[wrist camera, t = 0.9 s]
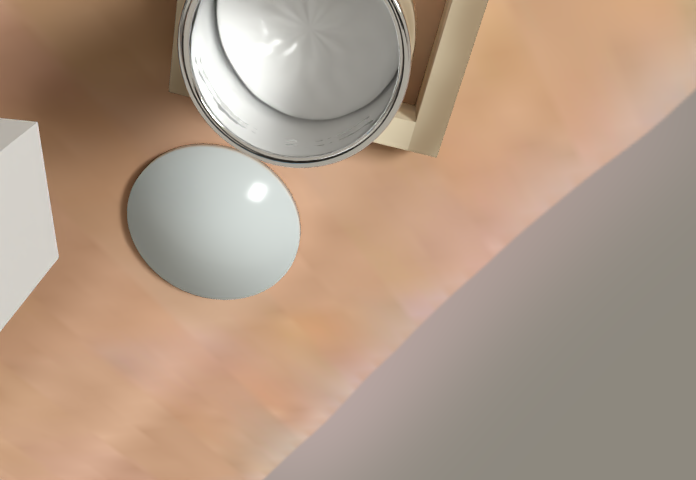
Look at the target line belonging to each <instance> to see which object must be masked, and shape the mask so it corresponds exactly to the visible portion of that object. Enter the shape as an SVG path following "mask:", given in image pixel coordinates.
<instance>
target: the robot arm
mask: <svg viewBox="0 0 696 480" xmlns="http://www.w3.org/2000/svg"><path fill="white" fill-rule="evenodd" d="M58 258H59V255H58V249H57V243H56V236H55V230H54V223H53V217H52V211H51V204H50V198H49V192H48V185H47V179H46V172H45V166H44V160H43V153H42V147H41V140H40V134H39V128H38V122H33V121H24V120H14V119H4V118H0V331H1V330H2V329H3V327H4V326H5V325H6V324H7V322H8V321H9V320H10V318H11V317H12V316H13V315H14V313H15V312H16V311H17V310H18V308H19V307H20V306H21V305H22V303H23V302H24V301H25V300H26V298H27V297H28V296H29V295H30V293H31V292H32V291H33V289H34V288H35V287H36V286H37V284H38V283H39V282H40V281H41V279H42V278H43V277H44V276H45V274H46V273H47V272H48V271H49V269H50V268H51V267H52V265H53V264H54V263H55V262H56V260H57V259H58Z"/></svg>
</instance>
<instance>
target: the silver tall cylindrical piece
mask: <svg viewBox="0 0 696 480" xmlns="http://www.w3.org/2000/svg"><path fill="white" fill-rule="evenodd" d="M416 29H417V17H416V7H415V1H414V0H185V2H184V4H183V7H182V11H181V15H180V19H179V25H178V34H177V51H178V60H179V66H180V71H181V74H182V78H183V81H184V84H185V87H186V89H187V92H188V94H189V96H190V98H191V100H192V102H193V104H194V105H195V107H196V109H197V110H198V112H199V113H200V115H201V116H202V117H203V119H204V120H205V121H206V122H207V124H208V125H209V126H210V127H211V128H212V129H213V130H214V131H215V132H216V133H217V134H218V135H219V136H220V137H221V138H222V139H224V140H225V141H226V142H227V143H229V144H230V145H231V146H233V147H234V148H236V149H238V150H239V151H241V152H243V153H244V154H246V155H248V156H251V157H253V158H255V159H257V160H260V161H263V162H266V163H269V164H273V165H278V166H283V167H291V168H311V167H319V166H325V165H329V164H333V163H336V162H339V161H342V160H344V159H346V158H349V157H351V156H353V155H355V154H356V153H358V152H360V151H361V150H363V149H364V148H366V147H367V146H368V145H370V144H371V143H372V142H373V141H374V140H375V139H377V138H378V137H379V136H380V135H381V134H382V132H383V131H384V130H385V129H386V128H387V127H388V125H389V124H390V123H391V121H392V120H393V118H394V117H395V115H396V113H397V112H398V110H399V108H400V106H401V104H402V101H403V99H404V96H405V93H406V90H407V87H408V83H409V78H410V72H411V65H412V61H413V56H414V52H415V44H416Z"/></svg>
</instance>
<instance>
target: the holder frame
mask: <svg viewBox="0 0 696 480" xmlns="http://www.w3.org/2000/svg"><path fill="white" fill-rule="evenodd" d="M184 2H185V0H177V7H176V18H175V29H174V40H173V50H172V61H171V72H170V82H169V92H171V93H175V94H179V95H183V96H188V97H190V96H189V94H188V92H187V89H186V87H185V84H184V81H183V78H182V74H181V71H180V66H179V60H178V51H177V34H178V25H179V19H180V15H181V11H182V7H183V4H184ZM487 3H488V0H446V3H445V6H444V10H443V13H442V16H441V20H440V23H439V27H438V30H437V33H436V37H435V40H434V43H433V47H432V50H431V54H430V57H429V60H428V64H427V67H426V70H425V74H424V77H423V81H422V84H421V87H420V91H419V94H418V97H417V101H416V104H415V105H411V104H407V103H403V102H402V104H401V106H400V108H399V110H398V112H397V113H396V115H395V117H394V118H393V120H392V121H391V123H390V124H389V125H388V127H387V128H386V129H385V130H384V131H383V132H382V134H381V135H380V136H379V137H378V138H377V139H375V140H374V141H373V142H375V143H379V144H383V145H387V146H391V147H395V148H399V149H403V150H407V151H411V152H415V153H420V154H424V155H428V156H432V157H436V158H437V155H438V152H439V149H440V146H441V143H442V140H443V137H444V134H445V131H446V128H447V125H448V122H449V119H450V116H451V113H452V110H453V106H454V103H455V100H456V97H457V94H458V91H459V88H460V85H461V82H462V79H463V76H464V73H465V70H466V67H467V64H468V61H469V58H470V55H471V52H472V48H473V45H474V42H475V39H476V36H477V33H478V30H479V27H480V24H481V21H482V18H483V15H484V12H485V9H486V6H487Z"/></svg>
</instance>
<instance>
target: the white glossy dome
mask: <svg viewBox="0 0 696 480" xmlns="http://www.w3.org/2000/svg"><path fill="white" fill-rule="evenodd" d="M127 220H128V226H129V230H130V234H131V237H132V240H133V242H134V244H135V246H136V248H137V250H138V251H139V253H140V255H141V256H142V258H143V259H144V260H145V261H146V263H147V264H148V265H149V266H150V267H151V268H152V269H153V270H154V271H155V272H156V273H157V274H158V275H159V276H161V277H162V278H163V279H164V280H166V281H167V282H169V283H170V284H172V285H174V286H175V287H177V288H179V289H181V290H183V291H186V292H188V293H191V294H194V295H197V296H201V297H205V298H210V299H220V300H231V299H240V298H246V297H249V296H253V295H256V294H258V293H261V292H263V291H265V290H266V289H268V288H270V287H272V286H273V285H274V284H275V283H277V282H278V281H279V280H280V279H281V278H282V277H283V276H284V275H285V274H286V273H287V271H288V270H289V268H290V267H291V265H292V263H293V261H294V259H295V256H296V253H297V250H298V246H299V242H300V235H301V223H300V217H299V212H298V209H297V206H296V203H295V201H294V199H293V196H292V194H291V193H290V191H289V189H288V188H287V186H286V185H285V184H284V182H283V181H282V180H281V179H280V177H279V176H278V175H277V174H276V173H275V172H274V171H273V170H272V169H270V168H269V167H268V166H267V165H265V164H264V163H263V162H261V161H260V160H257V159H255V158H253V157H251V156H248V155H246V154H244V153H243V152H241V151H239V150H238V149H235V148H231V147H228V146H223V145H218V144H205V143H202V144H190V145H185V146H180V147H178V148H175V149H172V150H169V151H167V152H166V153H164V154H162V155H160V156H159V157H157V158H156V159H155V160H153V161H152V162H151V163H150V164H149V165H148V166H147V167H146V168H145V169H144V170H143V172H142V173H141V174H140V176H139V177H138V178H137V180H136V181H135V183H134V185H133V187H132V189H131V193H130V196H129V199H128V206H127Z"/></svg>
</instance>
